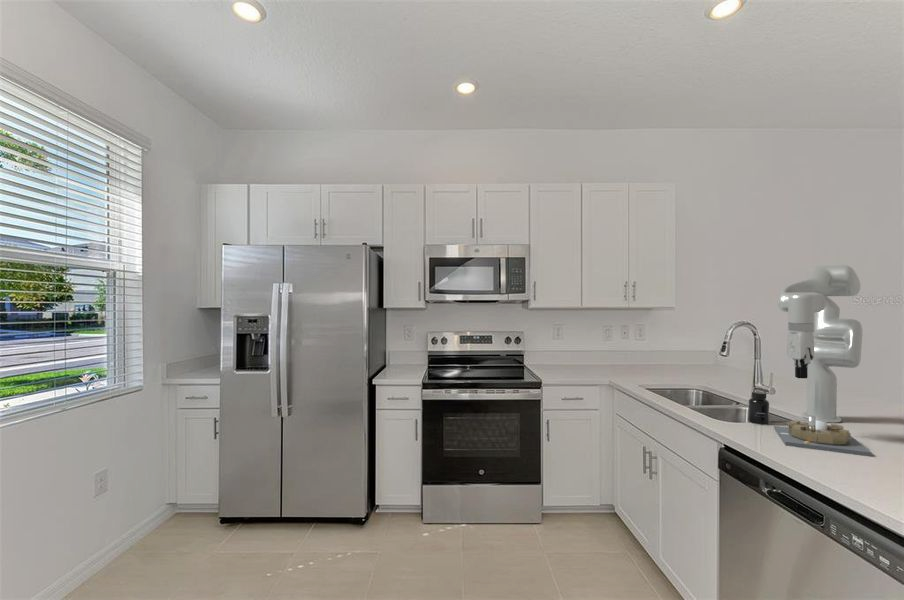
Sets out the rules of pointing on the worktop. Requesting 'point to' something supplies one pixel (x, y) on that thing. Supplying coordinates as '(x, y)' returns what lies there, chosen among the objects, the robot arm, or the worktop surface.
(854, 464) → the worktop surface
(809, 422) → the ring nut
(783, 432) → the nut base
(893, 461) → the worktop surface
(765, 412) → the supplement bottle
